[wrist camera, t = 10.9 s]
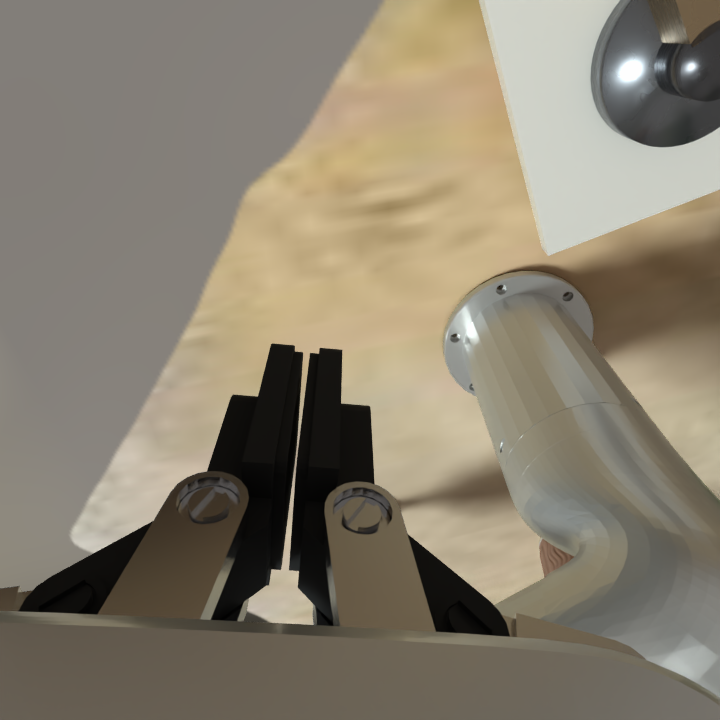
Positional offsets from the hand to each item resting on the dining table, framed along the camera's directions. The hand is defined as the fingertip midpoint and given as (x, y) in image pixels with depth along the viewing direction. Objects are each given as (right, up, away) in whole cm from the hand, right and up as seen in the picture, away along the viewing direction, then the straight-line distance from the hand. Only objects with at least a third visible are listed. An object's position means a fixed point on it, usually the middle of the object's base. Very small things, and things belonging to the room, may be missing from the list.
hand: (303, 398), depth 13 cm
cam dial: (+19, +22, +19) cm, 35 cm away
